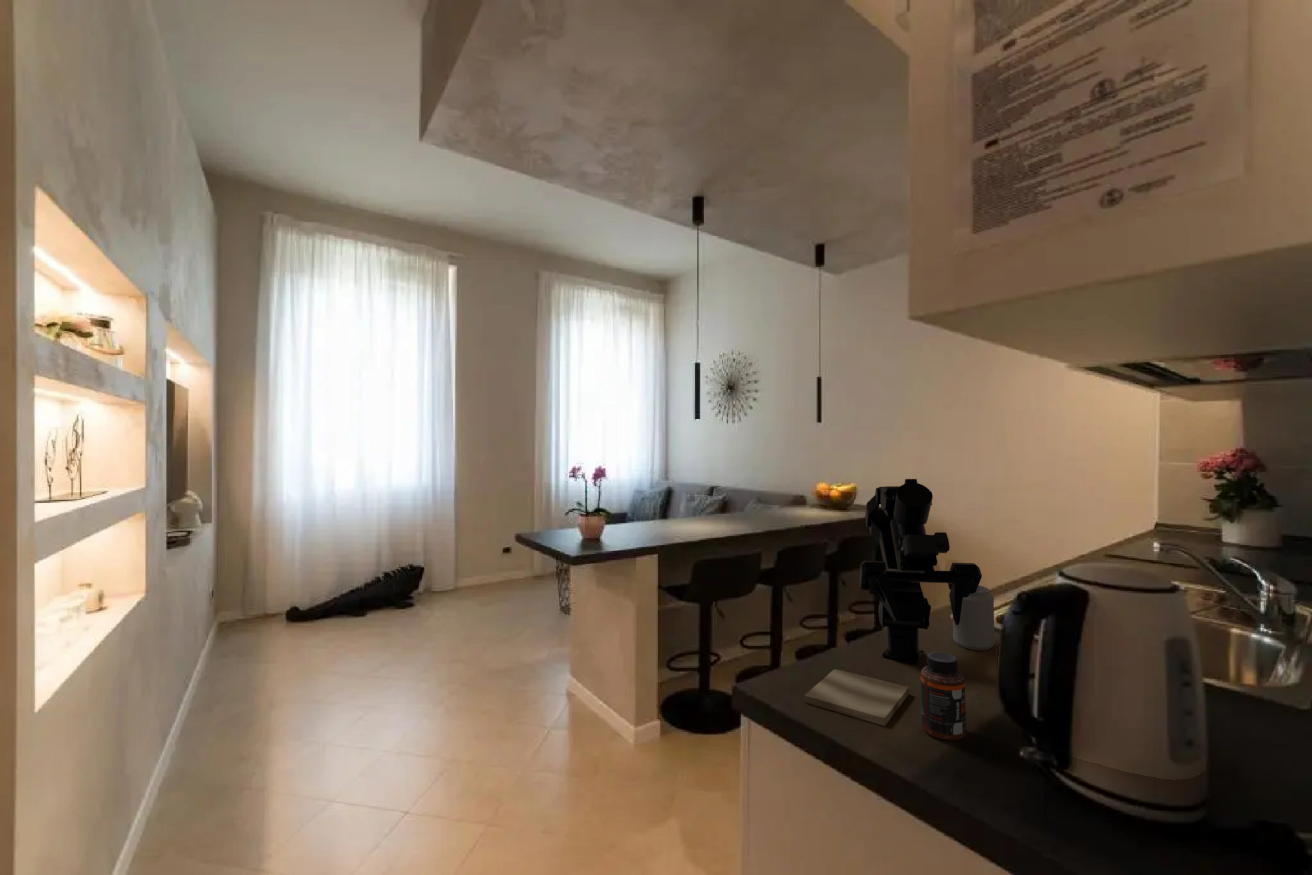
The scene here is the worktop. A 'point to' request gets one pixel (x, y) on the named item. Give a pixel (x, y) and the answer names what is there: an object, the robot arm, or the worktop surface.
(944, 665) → the supplement bottle
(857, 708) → the beige square board
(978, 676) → the worktop surface
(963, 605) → the can
